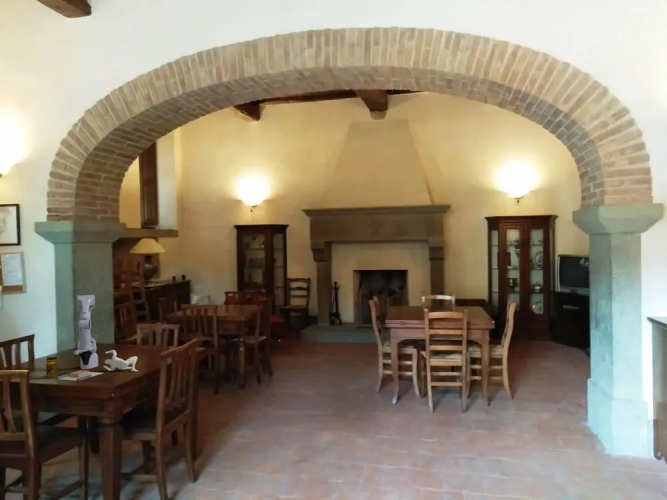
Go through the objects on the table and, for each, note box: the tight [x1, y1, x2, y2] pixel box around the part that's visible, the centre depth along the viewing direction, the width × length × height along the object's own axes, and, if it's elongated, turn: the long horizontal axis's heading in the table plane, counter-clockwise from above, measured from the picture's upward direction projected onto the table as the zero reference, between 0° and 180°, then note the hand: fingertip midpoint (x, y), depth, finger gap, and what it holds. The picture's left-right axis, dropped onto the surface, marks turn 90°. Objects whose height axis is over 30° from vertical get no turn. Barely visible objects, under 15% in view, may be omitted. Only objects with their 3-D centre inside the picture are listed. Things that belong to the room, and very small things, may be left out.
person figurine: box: [102, 349, 138, 372], centre depth 303 cm, size 13×13×18 cm
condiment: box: [45, 355, 60, 380], centre depth 291 cm, size 7×8×12 cm
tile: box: [70, 369, 90, 377], centre depth 293 cm, size 2×6×7 cm
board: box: [55, 371, 103, 382], centre depth 292 cm, size 18×16×2 cm
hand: (85, 365), depth 297 cm, fingers closed
